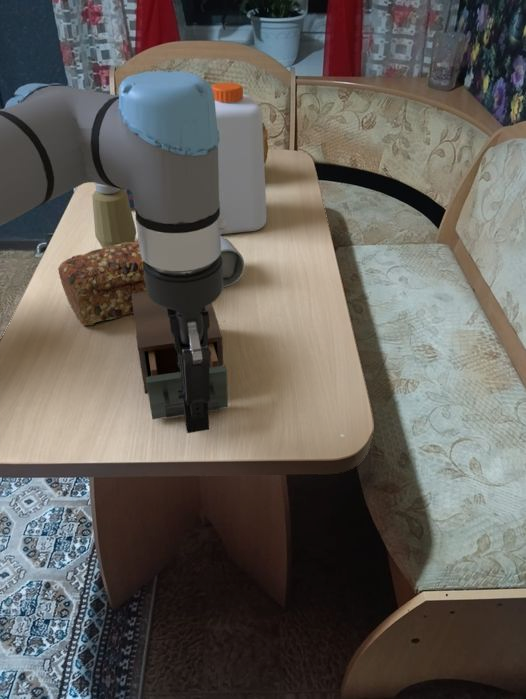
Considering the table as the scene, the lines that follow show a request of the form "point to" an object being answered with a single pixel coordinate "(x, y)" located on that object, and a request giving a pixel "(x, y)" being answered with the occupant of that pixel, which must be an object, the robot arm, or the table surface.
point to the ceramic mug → (231, 263)
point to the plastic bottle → (240, 159)
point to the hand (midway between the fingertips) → (197, 426)
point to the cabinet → (163, 331)
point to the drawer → (180, 383)
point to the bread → (103, 282)
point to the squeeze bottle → (112, 216)
